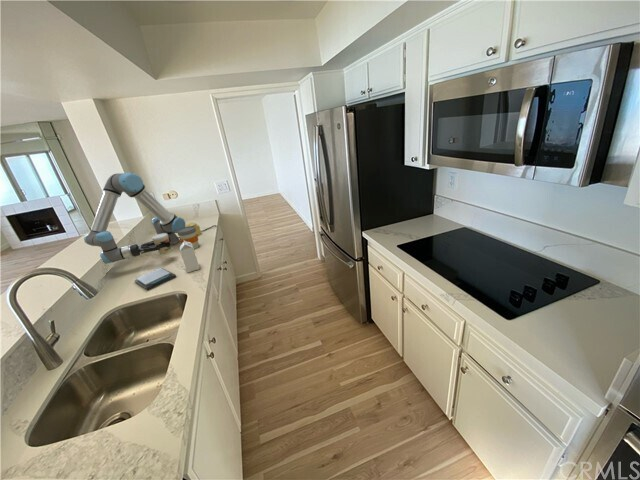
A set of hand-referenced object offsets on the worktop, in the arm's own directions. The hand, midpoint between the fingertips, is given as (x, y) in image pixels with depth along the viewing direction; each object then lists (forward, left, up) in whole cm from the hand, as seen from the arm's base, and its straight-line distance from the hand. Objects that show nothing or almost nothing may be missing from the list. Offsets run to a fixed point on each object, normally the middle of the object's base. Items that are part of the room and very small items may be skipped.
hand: (170, 241), depth 178 cm
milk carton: (+2, +27, -13) cm, 30 cm away
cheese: (-30, -33, -13) cm, 46 cm away
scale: (+21, +18, -13) cm, 31 cm away
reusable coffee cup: (-16, -8, -13) cm, 22 cm away
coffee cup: (+4, -2, -7) cm, 8 cm away
